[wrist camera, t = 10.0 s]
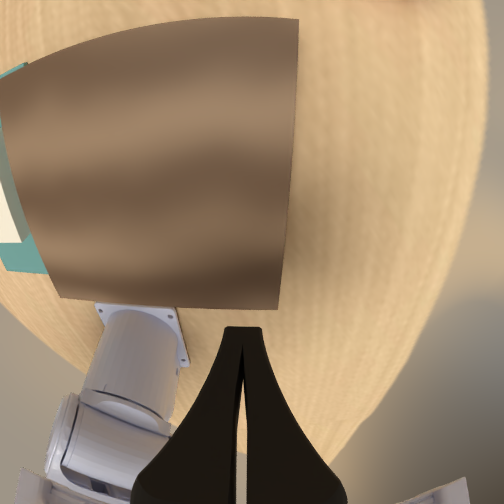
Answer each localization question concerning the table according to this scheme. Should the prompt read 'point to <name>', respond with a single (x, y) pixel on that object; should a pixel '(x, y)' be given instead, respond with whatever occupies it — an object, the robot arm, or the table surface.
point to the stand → (159, 161)
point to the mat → (24, 253)
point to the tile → (10, 203)
